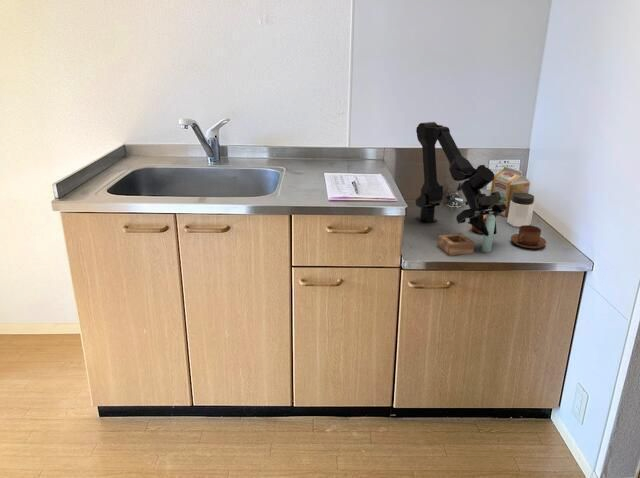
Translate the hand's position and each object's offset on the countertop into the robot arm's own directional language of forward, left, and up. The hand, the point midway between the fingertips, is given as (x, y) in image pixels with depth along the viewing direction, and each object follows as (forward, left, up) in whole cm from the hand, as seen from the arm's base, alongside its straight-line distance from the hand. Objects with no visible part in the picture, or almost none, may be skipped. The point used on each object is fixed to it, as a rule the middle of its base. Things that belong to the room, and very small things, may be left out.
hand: (491, 234), depth 171 cm
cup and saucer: (-2, +18, -7) cm, 19 cm away
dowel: (-1, 0, -7) cm, 7 cm away
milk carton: (-35, +32, -7) cm, 48 cm away
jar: (-21, +28, -7) cm, 36 cm away
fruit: (-18, +9, -7) cm, 22 cm away
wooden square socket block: (-5, -10, -7) cm, 13 cm away
